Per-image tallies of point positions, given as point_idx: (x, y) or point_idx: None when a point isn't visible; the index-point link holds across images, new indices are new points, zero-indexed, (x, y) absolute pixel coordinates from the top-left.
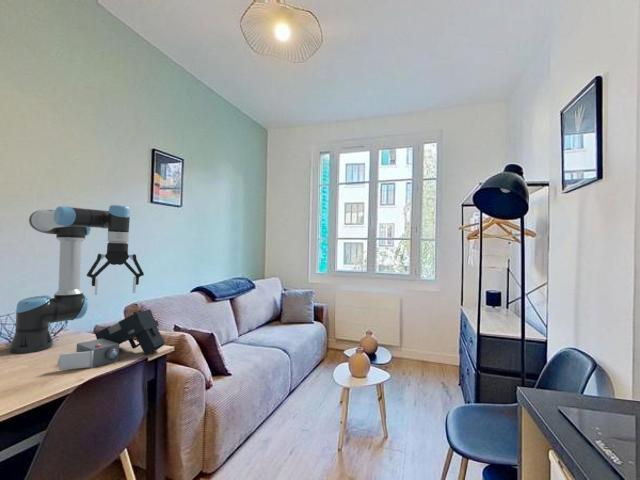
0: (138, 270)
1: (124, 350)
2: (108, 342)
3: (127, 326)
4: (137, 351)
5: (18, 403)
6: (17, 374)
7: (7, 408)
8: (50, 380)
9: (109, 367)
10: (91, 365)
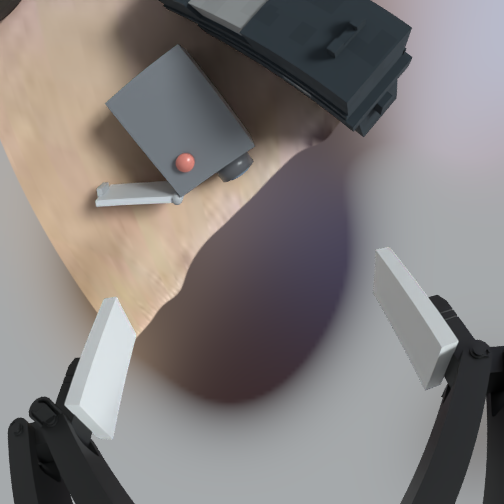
0: (493, 423)
1: None
2: (212, 113)
3: (283, 66)
4: None
5: None
6: (38, 185)
7: None
8: (121, 244)
9: (233, 192)
10: None
